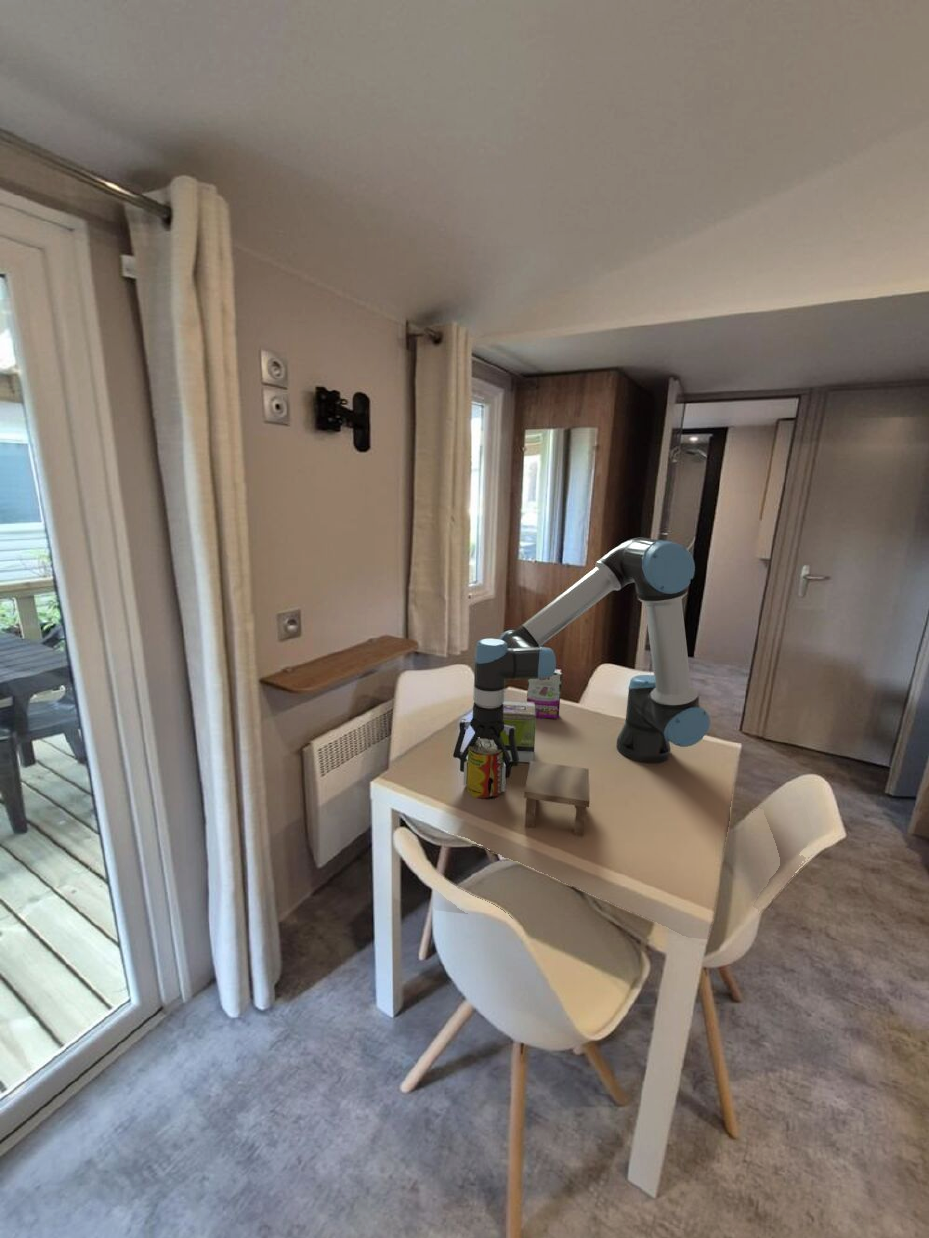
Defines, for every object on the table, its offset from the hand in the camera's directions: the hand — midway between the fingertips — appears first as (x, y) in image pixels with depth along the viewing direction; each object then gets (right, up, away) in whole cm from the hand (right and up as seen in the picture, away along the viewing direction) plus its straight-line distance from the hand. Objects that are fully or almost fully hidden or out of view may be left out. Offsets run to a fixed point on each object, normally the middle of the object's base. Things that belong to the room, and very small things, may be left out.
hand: (484, 785), depth 129 cm
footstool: (+16, -4, -9) cm, 19 cm away
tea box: (+7, +3, +19) cm, 20 cm away
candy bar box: (+22, +9, +46) cm, 51 cm away
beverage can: (0, -1, 0) cm, 1 cm away
